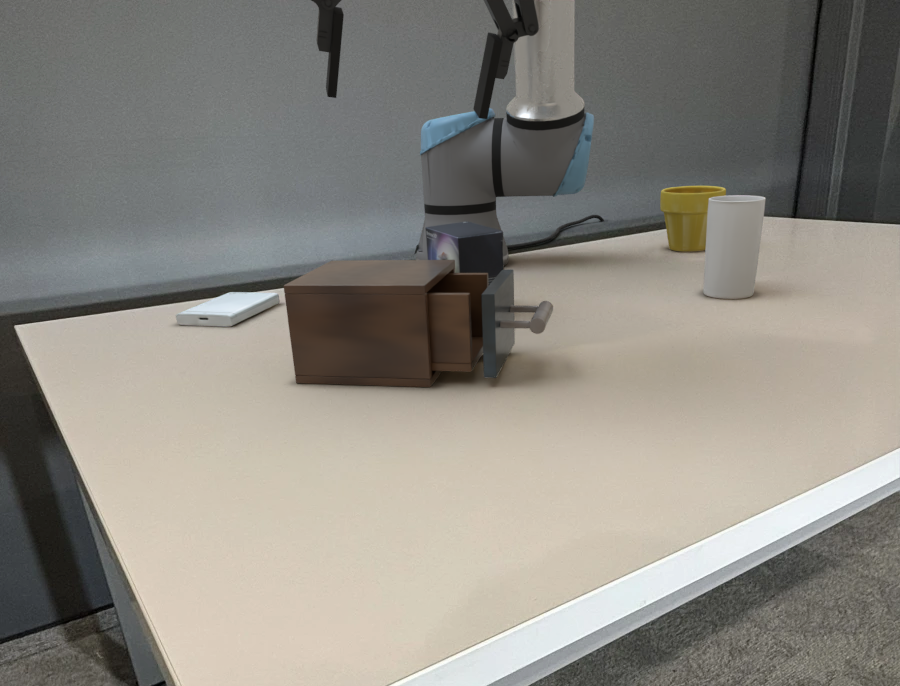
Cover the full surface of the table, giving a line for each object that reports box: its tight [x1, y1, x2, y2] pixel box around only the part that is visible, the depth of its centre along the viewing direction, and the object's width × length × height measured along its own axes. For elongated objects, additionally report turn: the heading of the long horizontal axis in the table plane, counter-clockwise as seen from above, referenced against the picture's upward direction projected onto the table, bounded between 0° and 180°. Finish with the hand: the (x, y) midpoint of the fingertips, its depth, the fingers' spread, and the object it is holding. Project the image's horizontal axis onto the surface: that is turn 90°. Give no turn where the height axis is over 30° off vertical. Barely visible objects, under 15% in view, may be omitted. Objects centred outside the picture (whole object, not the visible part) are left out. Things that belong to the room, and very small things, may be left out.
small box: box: [425, 221, 505, 285], centre depth 99 cm, size 11×6×10 cm, turn 23°
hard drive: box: [175, 291, 281, 328], centre depth 106 cm, size 2×8×12 cm
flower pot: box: [659, 185, 727, 253], centre depth 134 cm, size 10×10×10 cm
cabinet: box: [283, 259, 455, 388], centre depth 80 cm, size 14×13×10 cm
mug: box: [702, 194, 767, 300], centre depth 103 cm, size 10×7×12 cm, turn 149°
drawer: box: [427, 268, 554, 379], centre depth 78 cm, size 17×11×8 cm
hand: (407, 104), depth 71 cm, fingers open, 13 cm apart
